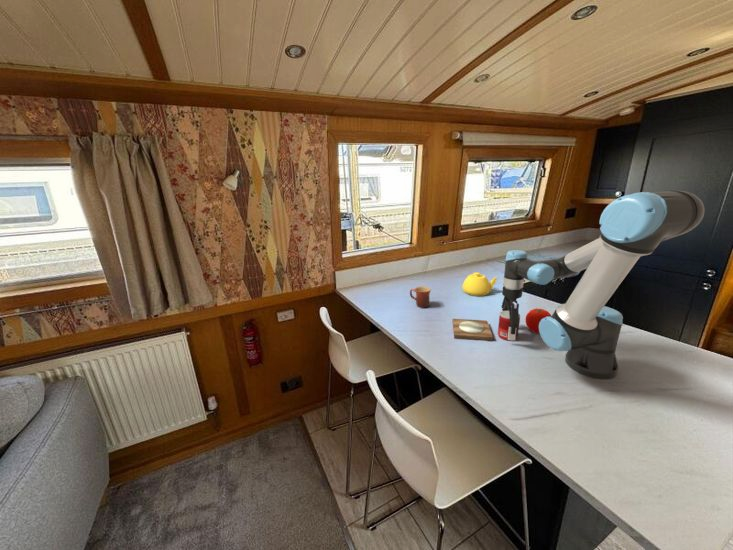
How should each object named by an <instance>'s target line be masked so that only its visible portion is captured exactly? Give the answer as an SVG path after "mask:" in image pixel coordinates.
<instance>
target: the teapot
mask: <svg viewBox="0 0 733 550" xmlns="http://www.w3.org/2000/svg"><path fill="white" fill-rule="evenodd" d="M497 280H498V277H496V276H494V277H493V278H492V279H491V280H490V281H489V280H488V278H487V277H486V275H485V274H481V272H473V273H471V274H469V275H467V277H466V278H465V280H463V283H462V285H461V286H462V288H461V289H462V290H463V292H464V293H465V294H466V295H469V296H471V297H484V296H486V295H487V296H488V294H489V293H490V292H491V291H492V289H493V288H494V285H495V283H496V282H497Z"/></svg>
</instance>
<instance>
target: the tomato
mask: <svg viewBox="0 0 733 550" xmlns="http://www.w3.org/2000/svg"><path fill="white" fill-rule="evenodd" d="M550 316H552V315H551V313H550V312H549V311H548V310H546V309H543V308H537V307H535V308H533V309H530V310H529V311H528V312H527V314H526V316H525V324H526V327H527V328H528V330H529V331H530V332H532V333H536V334H540V332H539V323H540V321H541V320H542V319H543V318H545V317H550Z"/></svg>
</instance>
